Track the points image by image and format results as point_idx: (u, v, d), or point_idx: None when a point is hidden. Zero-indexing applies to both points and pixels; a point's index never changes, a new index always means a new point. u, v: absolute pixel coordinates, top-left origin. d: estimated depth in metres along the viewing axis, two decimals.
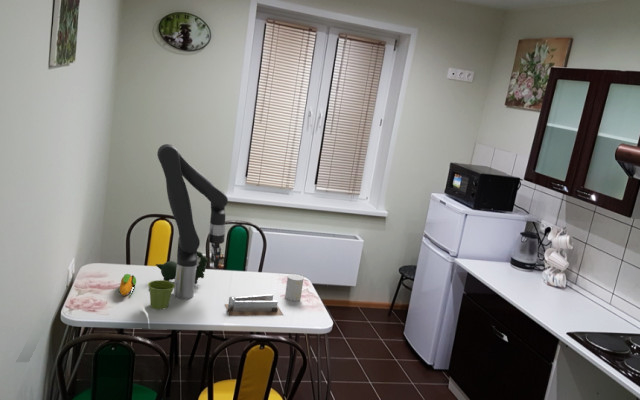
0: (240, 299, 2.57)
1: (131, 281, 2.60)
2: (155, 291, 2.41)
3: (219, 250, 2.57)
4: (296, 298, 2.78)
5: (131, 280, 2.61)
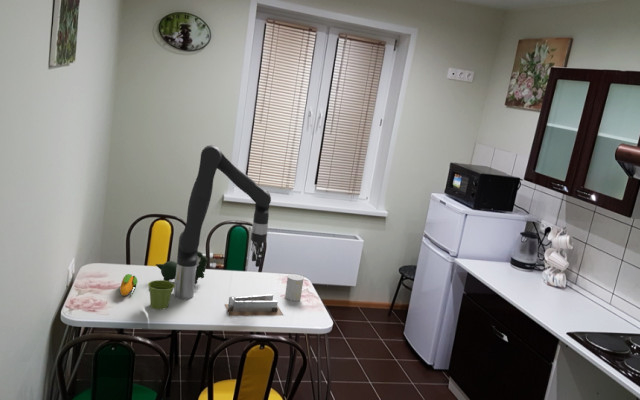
0: (240, 299, 2.57)
1: (132, 281, 2.60)
2: (155, 291, 2.41)
3: (262, 249, 2.58)
4: (296, 298, 2.78)
5: (132, 280, 2.61)
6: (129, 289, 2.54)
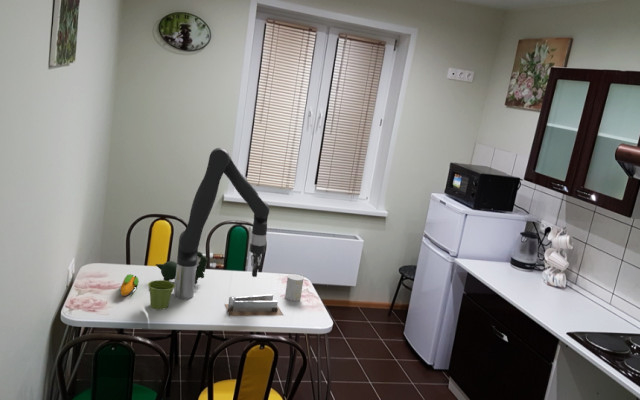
0: (240, 299, 2.57)
1: (133, 281, 2.60)
2: (155, 291, 2.41)
3: (259, 264, 2.60)
4: (296, 298, 2.78)
5: (133, 280, 2.61)
6: (129, 289, 2.54)
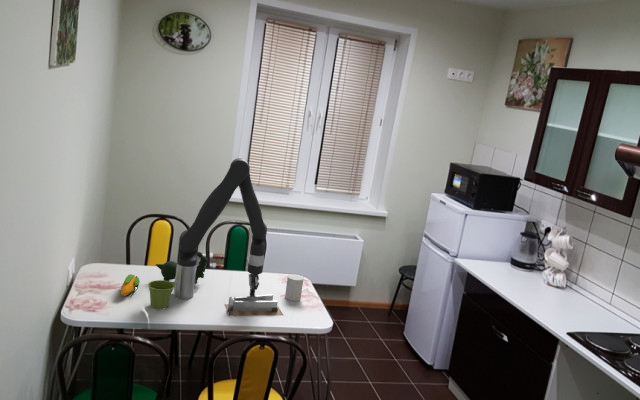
0: (240, 299, 2.57)
1: (133, 282, 2.60)
2: (155, 291, 2.41)
3: (257, 285, 2.62)
4: (296, 298, 2.78)
5: (134, 281, 2.61)
6: (129, 289, 2.54)
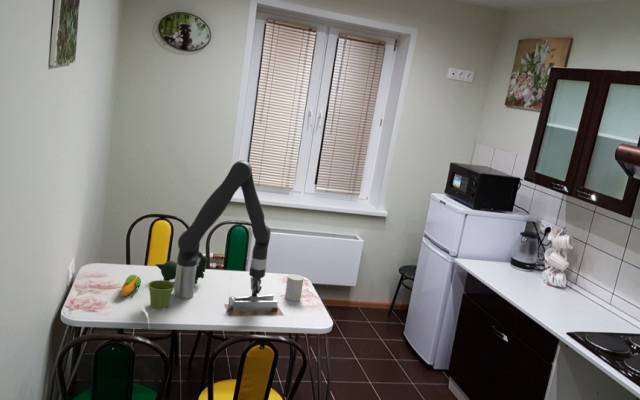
0: (240, 300, 2.57)
1: (134, 282, 2.60)
2: (155, 291, 2.41)
3: (259, 289, 2.59)
4: (296, 298, 2.78)
5: (135, 281, 2.61)
6: (130, 290, 2.54)
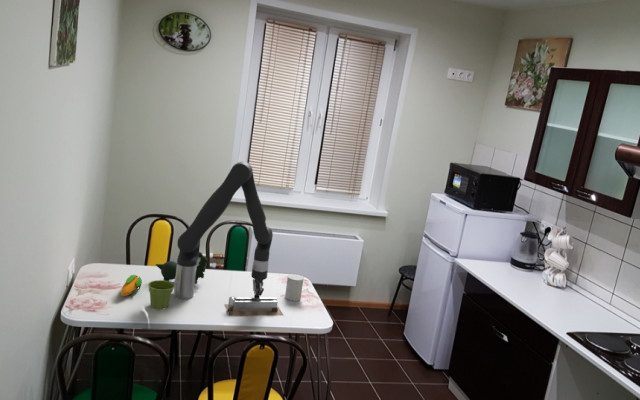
0: (241, 300, 2.57)
1: (135, 282, 2.60)
2: (155, 291, 2.41)
3: (262, 291, 2.57)
4: (296, 298, 2.78)
5: None
6: (130, 290, 2.53)
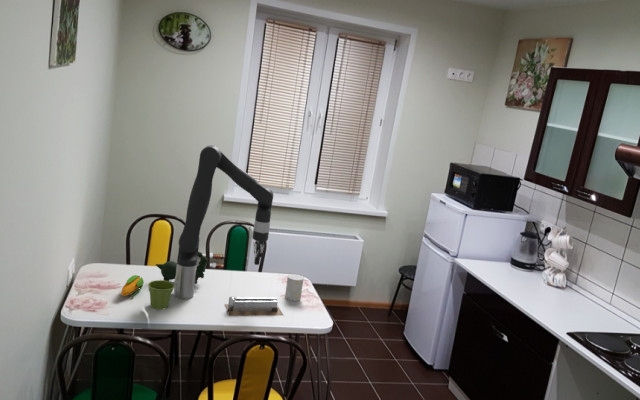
0: (241, 300, 2.57)
1: (136, 282, 2.60)
2: (155, 291, 2.41)
3: (262, 252, 2.56)
4: (296, 298, 2.78)
5: None
6: (130, 290, 2.53)
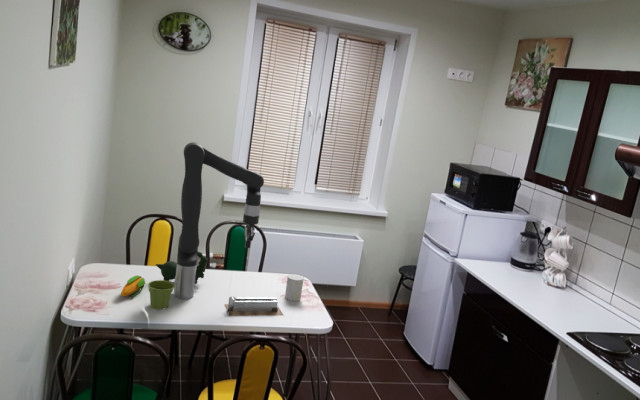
0: (241, 300, 2.57)
1: None
2: (155, 291, 2.41)
3: (253, 235, 2.60)
4: (296, 298, 2.78)
5: (138, 282, 2.60)
6: (130, 290, 2.53)
